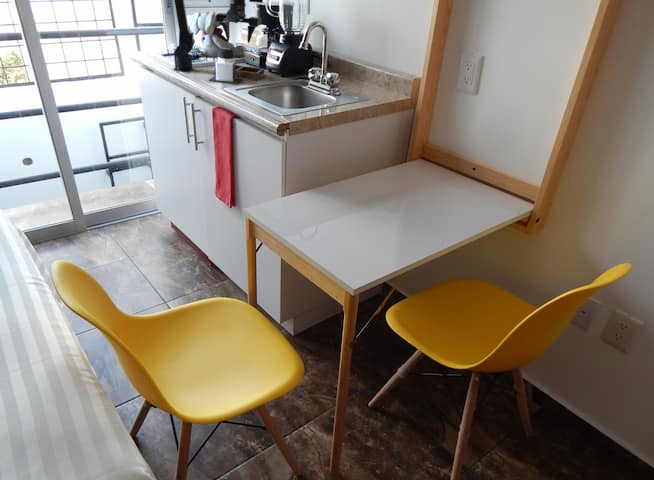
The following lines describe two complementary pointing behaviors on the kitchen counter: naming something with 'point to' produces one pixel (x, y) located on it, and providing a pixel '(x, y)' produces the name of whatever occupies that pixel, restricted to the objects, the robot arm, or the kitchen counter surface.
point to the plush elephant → (212, 35)
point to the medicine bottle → (225, 65)
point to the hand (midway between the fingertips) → (238, 41)
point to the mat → (227, 81)
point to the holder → (248, 72)
